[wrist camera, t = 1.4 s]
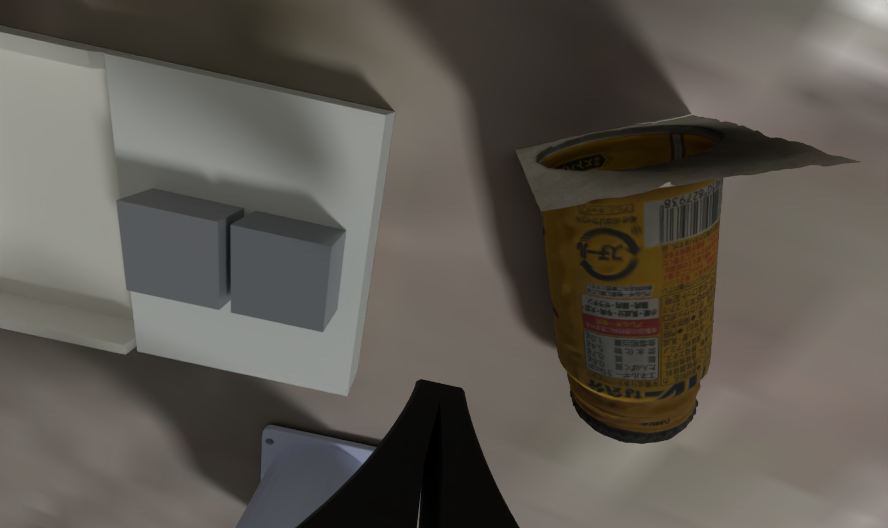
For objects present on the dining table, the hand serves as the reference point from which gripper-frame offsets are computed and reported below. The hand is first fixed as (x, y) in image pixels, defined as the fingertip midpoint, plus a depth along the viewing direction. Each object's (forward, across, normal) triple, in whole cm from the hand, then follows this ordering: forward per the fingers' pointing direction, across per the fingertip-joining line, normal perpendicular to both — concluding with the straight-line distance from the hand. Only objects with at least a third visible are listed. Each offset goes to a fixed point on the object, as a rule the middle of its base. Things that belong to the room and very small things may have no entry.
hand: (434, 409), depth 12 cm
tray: (+9, +20, 0) cm, 22 cm away
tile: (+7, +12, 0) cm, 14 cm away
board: (+9, +10, 0) cm, 13 cm away
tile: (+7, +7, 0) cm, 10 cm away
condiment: (+5, -5, -8) cm, 11 cm away
